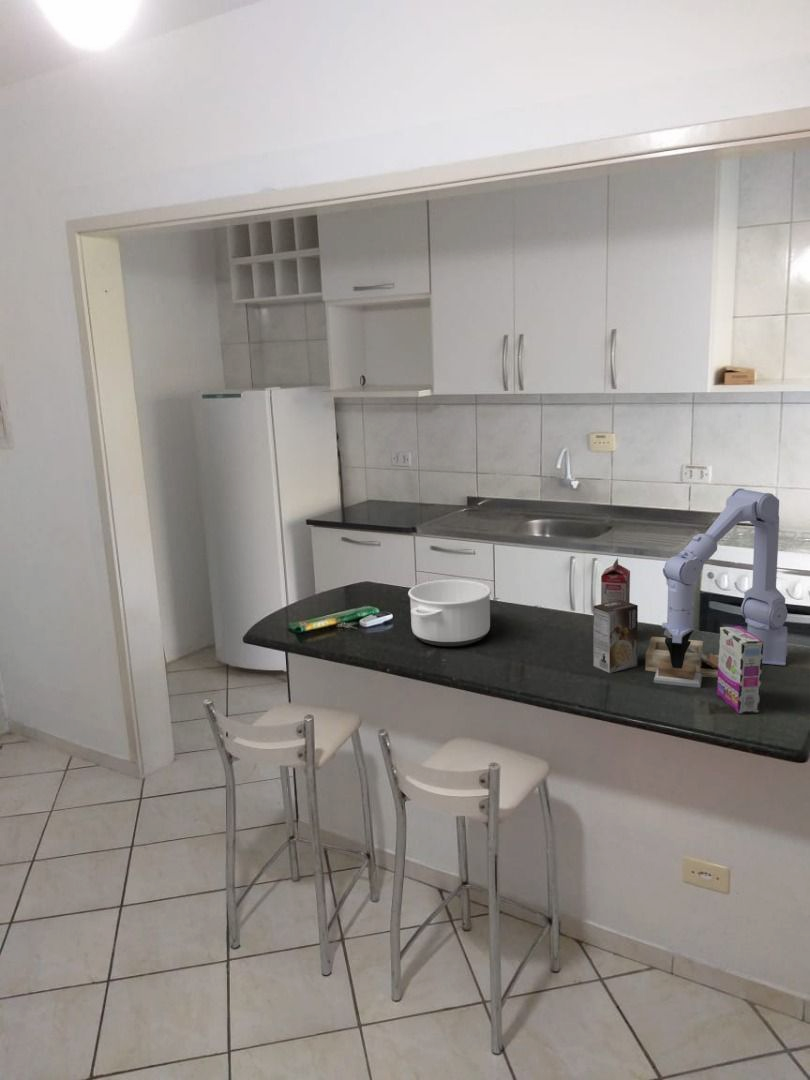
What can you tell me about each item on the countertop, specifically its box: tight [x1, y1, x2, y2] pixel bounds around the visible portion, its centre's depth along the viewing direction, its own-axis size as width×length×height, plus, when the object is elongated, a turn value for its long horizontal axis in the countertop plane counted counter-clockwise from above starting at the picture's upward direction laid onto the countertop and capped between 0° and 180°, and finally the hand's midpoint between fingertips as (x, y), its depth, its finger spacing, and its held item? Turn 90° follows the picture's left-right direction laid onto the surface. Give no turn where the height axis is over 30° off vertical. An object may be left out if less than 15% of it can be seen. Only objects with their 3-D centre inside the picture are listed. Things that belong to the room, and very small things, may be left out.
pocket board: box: [644, 636, 719, 679], centre depth 211 cm, size 17×13×4 cm
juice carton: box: [600, 557, 631, 604], centre depth 229 cm, size 7×7×22 cm
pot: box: [407, 579, 492, 647], centre depth 238 cm, size 33×23×14 cm
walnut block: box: [658, 662, 696, 680], centre depth 202 cm, size 8×4×2 cm, turn 65°
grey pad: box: [653, 670, 703, 689], centre depth 202 cm, size 10×6×1 cm, turn 68°
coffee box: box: [592, 600, 639, 674], centre depth 211 cm, size 9×6×16 cm
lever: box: [663, 629, 719, 670], centre depth 210 cm, size 15×6×2 cm
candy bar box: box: [716, 625, 764, 715], centre depth 186 cm, size 11×5×16 cm, turn 5°
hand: (678, 661), depth 201 cm, fingers open, 7 cm apart
